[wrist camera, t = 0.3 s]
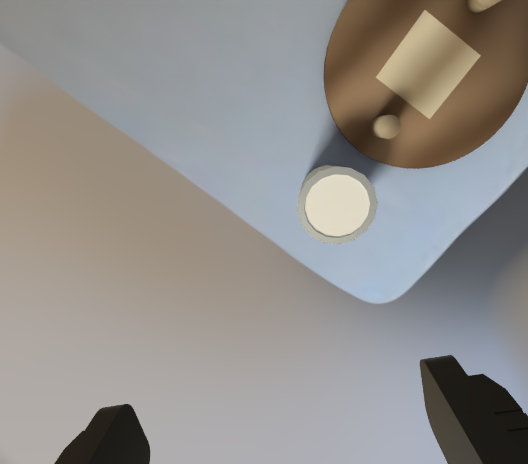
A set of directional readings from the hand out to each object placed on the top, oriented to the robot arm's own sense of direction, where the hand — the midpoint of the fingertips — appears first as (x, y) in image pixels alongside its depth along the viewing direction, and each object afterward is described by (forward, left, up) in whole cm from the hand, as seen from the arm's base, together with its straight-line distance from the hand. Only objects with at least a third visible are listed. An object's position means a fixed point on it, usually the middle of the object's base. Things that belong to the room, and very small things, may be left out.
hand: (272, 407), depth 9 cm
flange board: (-10, +15, -28) cm, 33 cm away
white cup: (0, +5, -29) cm, 29 cm away
